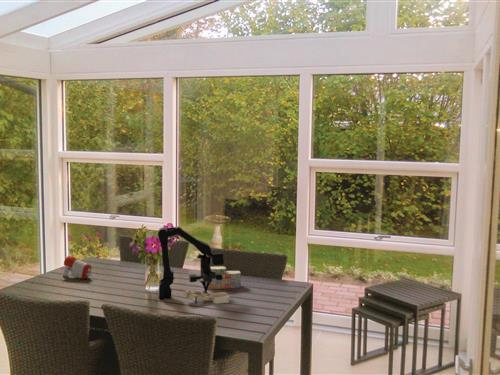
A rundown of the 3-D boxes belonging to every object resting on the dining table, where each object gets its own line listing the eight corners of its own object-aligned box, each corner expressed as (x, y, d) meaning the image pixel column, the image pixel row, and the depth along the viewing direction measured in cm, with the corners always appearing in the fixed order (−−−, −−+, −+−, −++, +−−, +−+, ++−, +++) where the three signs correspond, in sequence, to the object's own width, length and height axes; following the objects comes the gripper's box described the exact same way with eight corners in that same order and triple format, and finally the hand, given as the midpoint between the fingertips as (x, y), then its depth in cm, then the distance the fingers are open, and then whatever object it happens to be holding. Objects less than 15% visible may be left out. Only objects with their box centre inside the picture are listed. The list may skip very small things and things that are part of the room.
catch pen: (214, 303, 285) (214, 297, 285) (211, 298, 293) (211, 293, 293) (229, 302, 287) (229, 296, 287) (225, 297, 296) (225, 292, 295)
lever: (186, 297, 282) (187, 292, 281) (182, 290, 295) (183, 285, 294) (211, 301, 286) (212, 295, 286) (206, 293, 299) (207, 288, 299)
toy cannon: (85, 287, 323) (89, 266, 320) (59, 275, 329) (63, 255, 326) (91, 284, 328) (95, 264, 326) (66, 273, 335) (70, 253, 332)
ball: (222, 296, 289) (219, 302, 289) (221, 295, 292) (218, 300, 292) (217, 294, 288) (214, 300, 288) (215, 292, 291) (213, 298, 291)
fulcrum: (195, 305, 282) (195, 297, 281) (192, 299, 291) (192, 292, 290) (204, 304, 283) (204, 296, 283) (200, 299, 292) (201, 291, 291)
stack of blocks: (239, 285, 321) (239, 265, 320) (240, 288, 315) (241, 268, 314) (204, 286, 318) (204, 266, 316) (205, 289, 311) (205, 269, 310)
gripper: (191, 270, 285) (192, 297, 287) (224, 267, 290) (224, 294, 292) (188, 265, 296) (188, 291, 297) (220, 262, 301) (220, 288, 302)
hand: (205, 291), depth 297 cm, fingers closed, pressing on lever
